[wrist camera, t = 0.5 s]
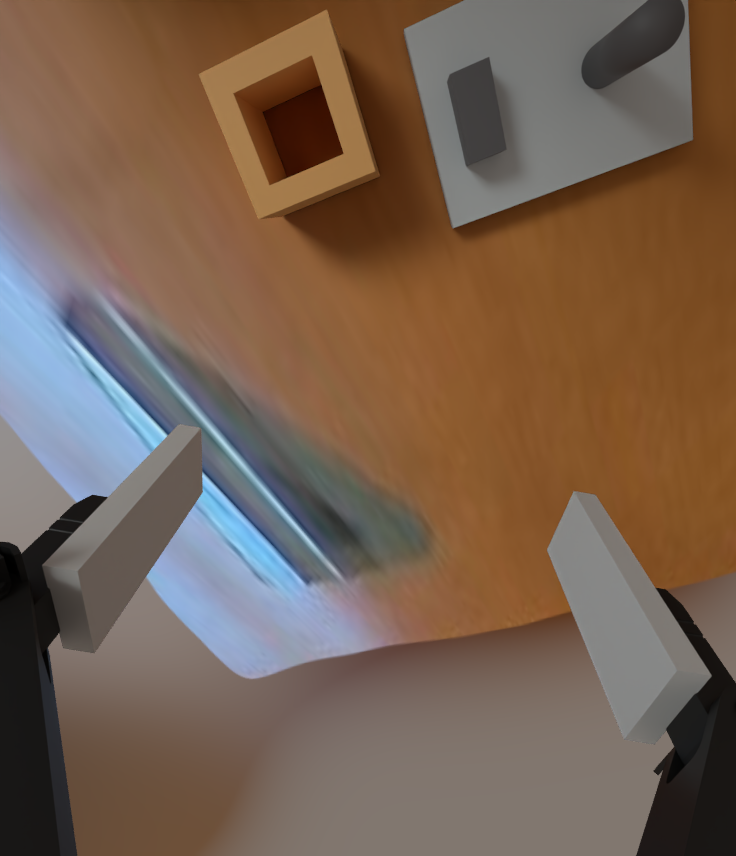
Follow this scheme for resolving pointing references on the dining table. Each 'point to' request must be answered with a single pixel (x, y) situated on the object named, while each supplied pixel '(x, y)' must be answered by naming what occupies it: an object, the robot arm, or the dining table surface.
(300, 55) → the link
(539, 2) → the keeper board
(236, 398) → the dining table surface
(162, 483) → the robot arm
